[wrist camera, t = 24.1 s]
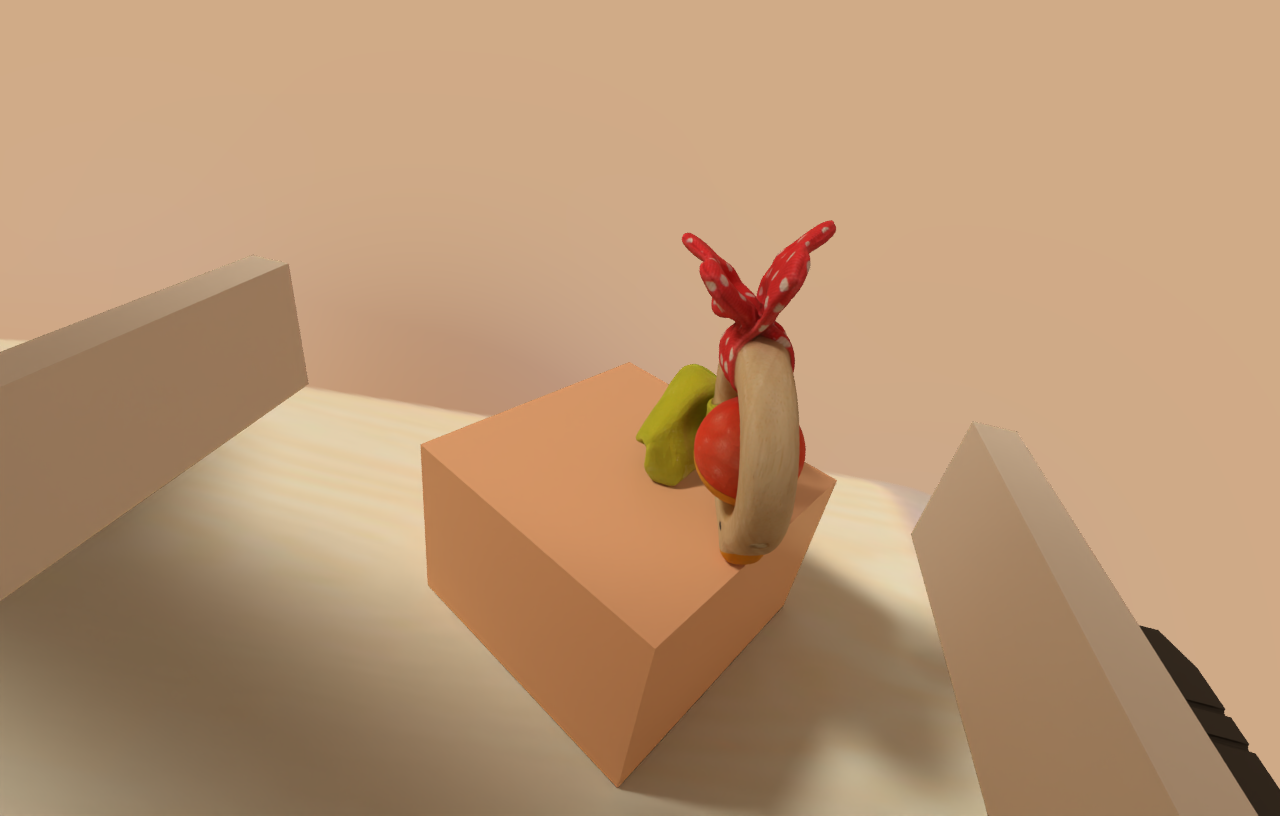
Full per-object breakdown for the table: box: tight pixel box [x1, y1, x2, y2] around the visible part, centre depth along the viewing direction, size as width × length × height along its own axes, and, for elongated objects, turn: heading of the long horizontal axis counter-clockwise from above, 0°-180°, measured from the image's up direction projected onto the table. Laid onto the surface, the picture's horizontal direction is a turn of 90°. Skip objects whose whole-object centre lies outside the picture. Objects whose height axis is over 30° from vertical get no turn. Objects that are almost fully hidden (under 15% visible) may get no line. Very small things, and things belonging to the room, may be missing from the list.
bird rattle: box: [636, 220, 836, 565], centre depth 20 cm, size 6×11×9 cm
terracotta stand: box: [421, 362, 837, 788], centre depth 26 cm, size 12×12×8 cm
